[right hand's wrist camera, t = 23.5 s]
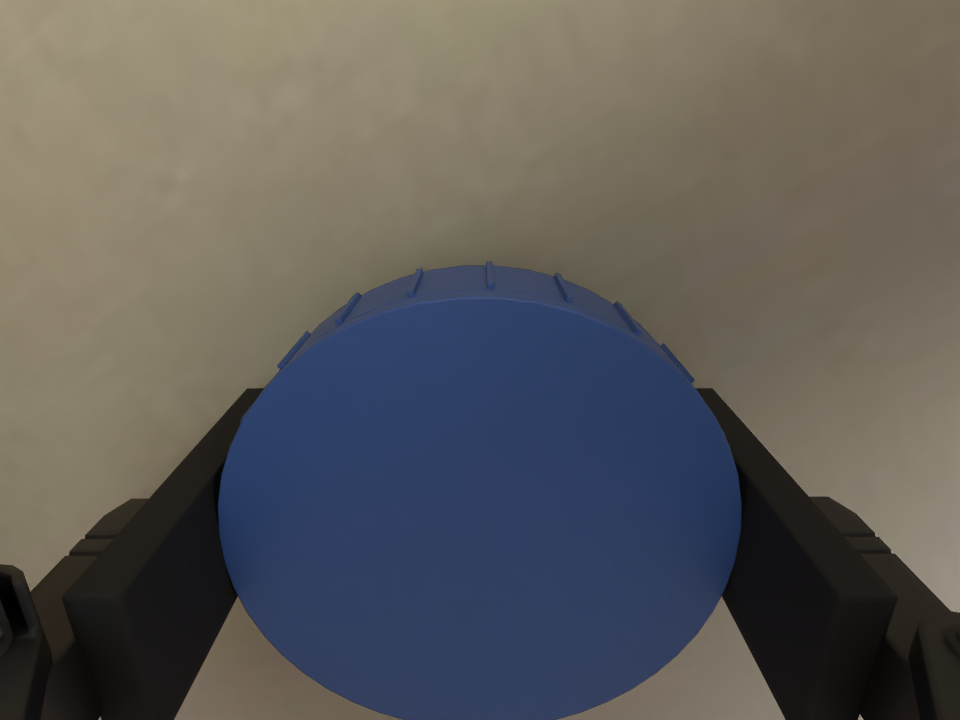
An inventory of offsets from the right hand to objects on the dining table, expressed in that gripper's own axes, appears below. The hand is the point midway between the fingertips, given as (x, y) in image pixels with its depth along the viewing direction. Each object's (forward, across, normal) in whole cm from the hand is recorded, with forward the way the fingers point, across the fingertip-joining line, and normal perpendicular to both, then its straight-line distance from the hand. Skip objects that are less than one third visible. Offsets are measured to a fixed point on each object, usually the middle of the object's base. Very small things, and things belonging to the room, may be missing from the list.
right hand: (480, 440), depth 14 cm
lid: (-3, 0, 0) cm, 3 cm away
